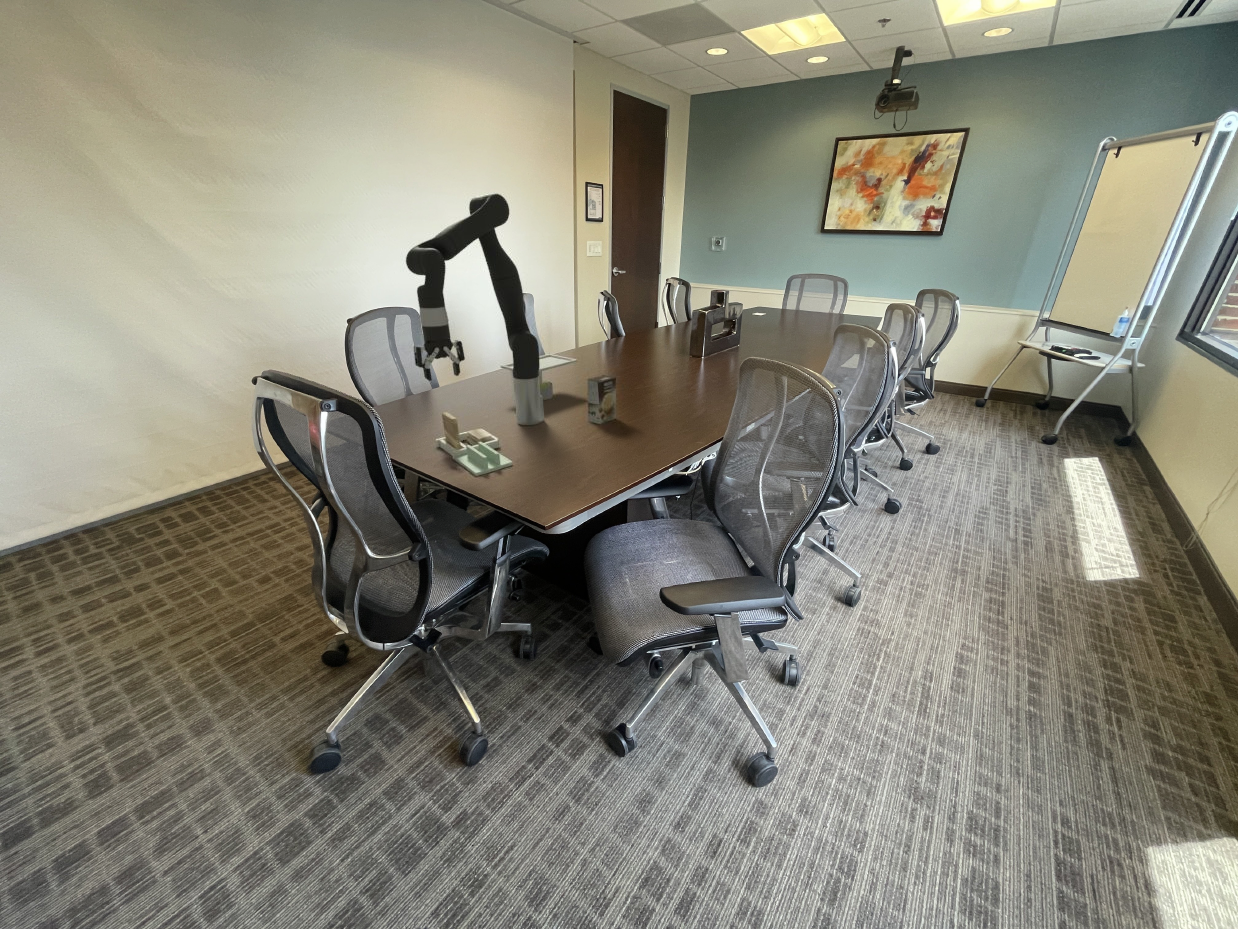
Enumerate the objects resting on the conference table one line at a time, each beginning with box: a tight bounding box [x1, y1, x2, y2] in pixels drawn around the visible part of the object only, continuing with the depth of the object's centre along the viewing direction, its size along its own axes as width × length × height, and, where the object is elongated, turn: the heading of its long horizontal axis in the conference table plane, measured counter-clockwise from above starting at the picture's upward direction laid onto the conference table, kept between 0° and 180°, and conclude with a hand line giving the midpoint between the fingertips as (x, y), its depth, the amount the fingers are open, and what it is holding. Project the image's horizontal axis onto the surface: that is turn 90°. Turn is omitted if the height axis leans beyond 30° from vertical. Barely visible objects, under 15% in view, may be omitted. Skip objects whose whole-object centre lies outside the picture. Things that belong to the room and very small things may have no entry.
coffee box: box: [587, 374, 617, 425], centre depth 185 cm, size 9×6×16 cm
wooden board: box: [441, 411, 461, 450], centre depth 159 cm, size 2×8×12 cm, turn 40°
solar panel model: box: [500, 353, 578, 401], centre depth 211 cm, size 28×17×15 cm, turn 141°
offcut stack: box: [466, 428, 492, 446], centre depth 166 cm, size 5×9×4 cm, turn 40°
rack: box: [435, 428, 500, 461], centre depth 164 cm, size 16×14×2 cm
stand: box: [455, 442, 514, 477], centre depth 152 cm, size 12×14×4 cm
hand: (443, 377), depth 151 cm, fingers open, 8 cm apart
